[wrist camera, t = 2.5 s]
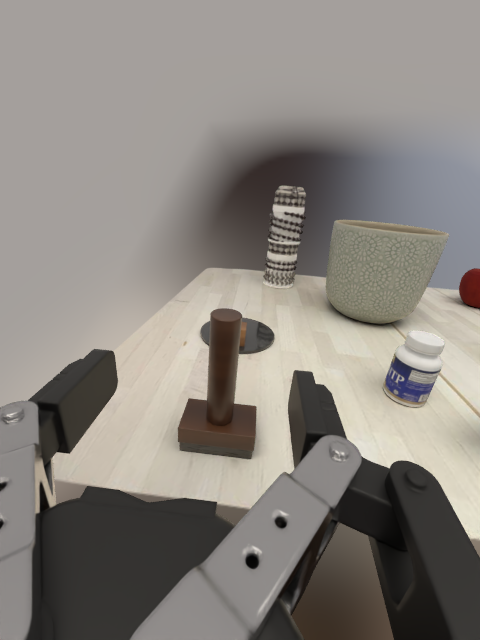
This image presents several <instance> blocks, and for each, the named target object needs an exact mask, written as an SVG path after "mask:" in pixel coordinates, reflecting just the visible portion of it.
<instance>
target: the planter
mask: <svg viewBox="0 0 480 640" xmlns="http://www.w3.org/2000/svg"><path fill="white" fill-rule="evenodd" d="M448 237H449V234H447V233H445V232H441V231H436V230H432V229H426V228H420V227H413V226H406V225H398V224H390V223H380V222H369V221H357V220H337V221H335V223H334V227H333V233H332V238H331V245H330V253H329V260H328V268H327V277H326V293H327V297H328V299H329V301H330V302H331V304H332V305H333V306H334V307H335V308H336V309H337V310H338V311H339V312H340V313H342V314H344V315H345V316H348V317H350V318H353V319H356V320H359V321H363V322H368V323H377V324H384V323H391V322H394V321H397V320H400V319H402V318H404V317H406V316H408V315H409V314H410V313H411V312H412V311H413V310H414V309H415V308H416V306H417V304H418V303H419V301H420V299H421V297H422V295H423V293H424V291H425V290H426V288H427V285H428V283H429V281H430V279H431V277H432V274H433V273H434V270H435V268H436V266H437V264H438V261H439V259H440V257H441V254H442V252H443V250H444V247H445V245H446V242H447V240H448Z"/></svg>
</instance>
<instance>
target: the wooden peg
mask: <svg viewBox="0 0 480 640" xmlns="http://www.w3.org/2000/svg"><path fill="white" fill-rule="evenodd" d="M241 323H242V314H241V313H240V312H238V311H236V310H233V309H216V310H214V311H212V312H211V318H210V342H209V366H208V390H207V401H206V400H198V399H188V402H187V405H186V407H185V410H184V413H183V416H182V418H181V421H180V424H179V427H178V442H180V450H182V451H190V452H199V453H207V454H215V455H223V456H231V457H239V458H247V459H251V457H252V451H253V450H254V444H255V435H256V406H249V405H241V404H234V399H235V388H236V377H237V366H238V356H239V345H240V334H241Z"/></svg>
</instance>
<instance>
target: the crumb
mask: <svg viewBox="0 0 480 640" xmlns="http://www.w3.org/2000/svg"><path fill="white" fill-rule="evenodd" d="M246 328H247V322H242V323H241V334H240V345H239V346H242V347H244V345H245V337H246Z"/></svg>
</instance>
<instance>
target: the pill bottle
mask: <svg viewBox="0 0 480 640" xmlns="http://www.w3.org/2000/svg"><path fill="white" fill-rule="evenodd" d="M444 345H445V341H444V340H443V339H442V338H440V337H438V336H437V335H434V334H432V333H429V332H425V331H419V330H412V331H410V332H409V333H408V335H407V337H406V341H405V344H404V345H401V346H399V347H398V348H397V349H396V351H395V354H394V357H393V360H392V362H391V365H390V368H389V371H388V373H387V376H386V379H385V382H384V385H383V389H384V391H385V393H386V394H387V395H388V396H389V397H390V398H391V399H393V400H394V401H396V402H398V403H400V404H402V405H405V406H409V407H420V406H423V405H424V404H425V403H426V401H427V399H428V397H429V394H430V392H431V390H432V387H433V385H434V383H435V381H436V379H437V376H438V374H439V372H440V370H441V368H442V359H441V358H440V356H439V355H440V354H441V352H442V351H443V348H444Z"/></svg>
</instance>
